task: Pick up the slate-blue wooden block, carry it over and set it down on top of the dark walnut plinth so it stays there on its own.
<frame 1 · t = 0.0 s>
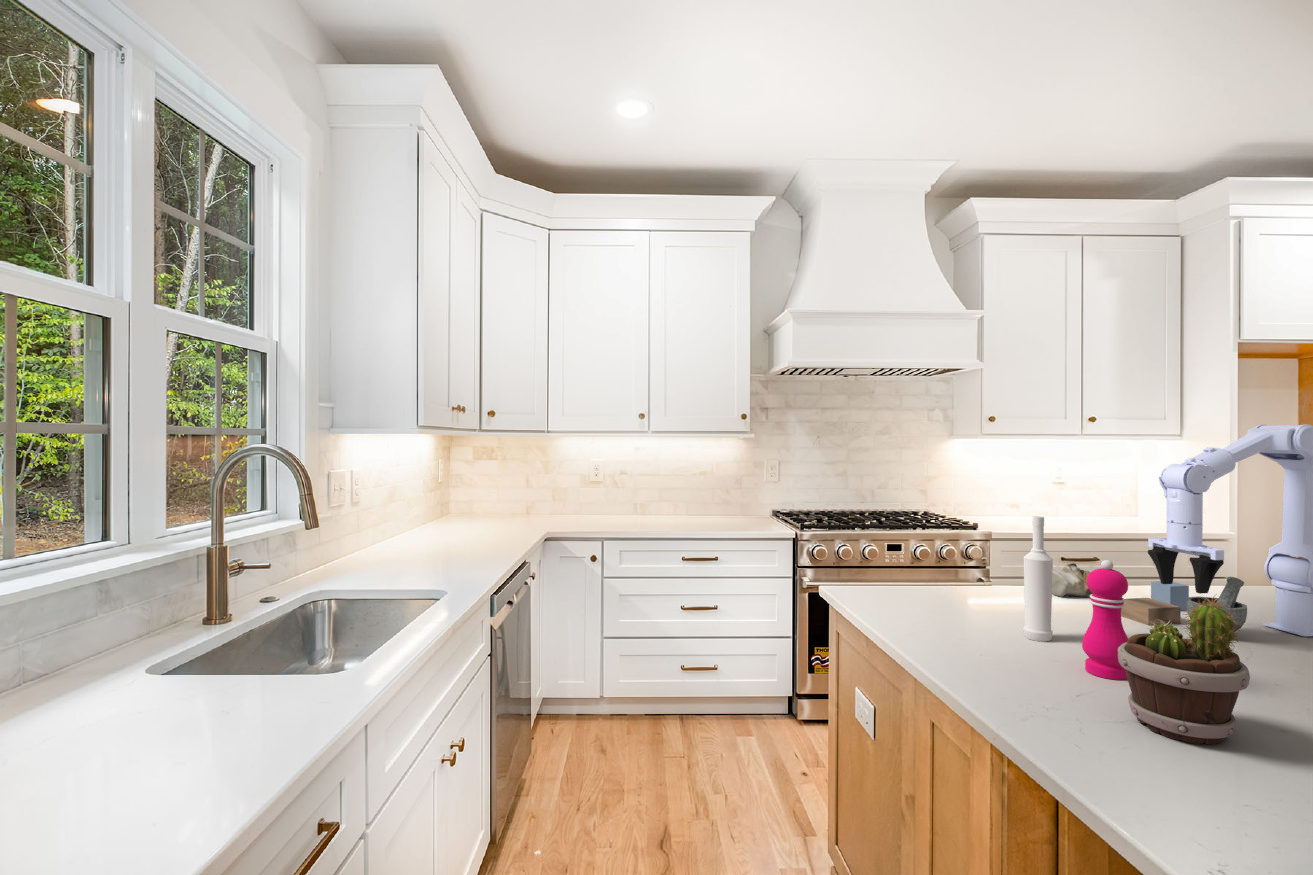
hand: (1183, 588, 131), 10 cm above the countertop, fingers open, 7 cm apart
grey rock: (1074, 596, 165), on the countertop
walnut plinth: (1148, 620, 144), on the countertop
flowerpot: (1180, 730, 91), on the countertop
pepper mill: (1106, 674, 112), on the countertop
bottle: (1037, 638, 131), on the countertop
slate block: (1169, 608, 153), on the countertop
mortar and pestle: (1218, 636, 133), on the countertop
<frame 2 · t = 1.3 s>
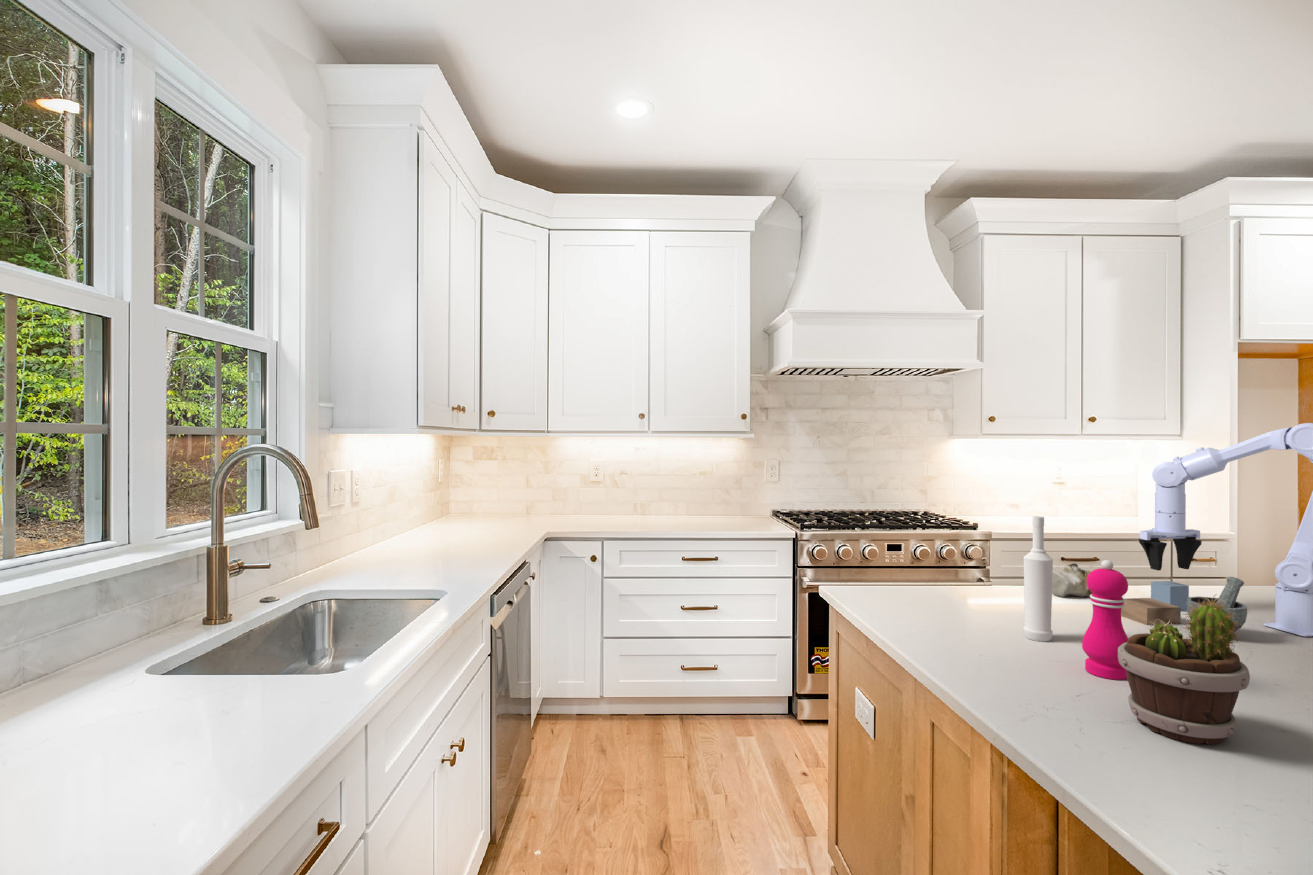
hand: (1169, 569, 153), 9 cm above the countertop, fingers open, 7 cm apart
nothing on the countertop moved.
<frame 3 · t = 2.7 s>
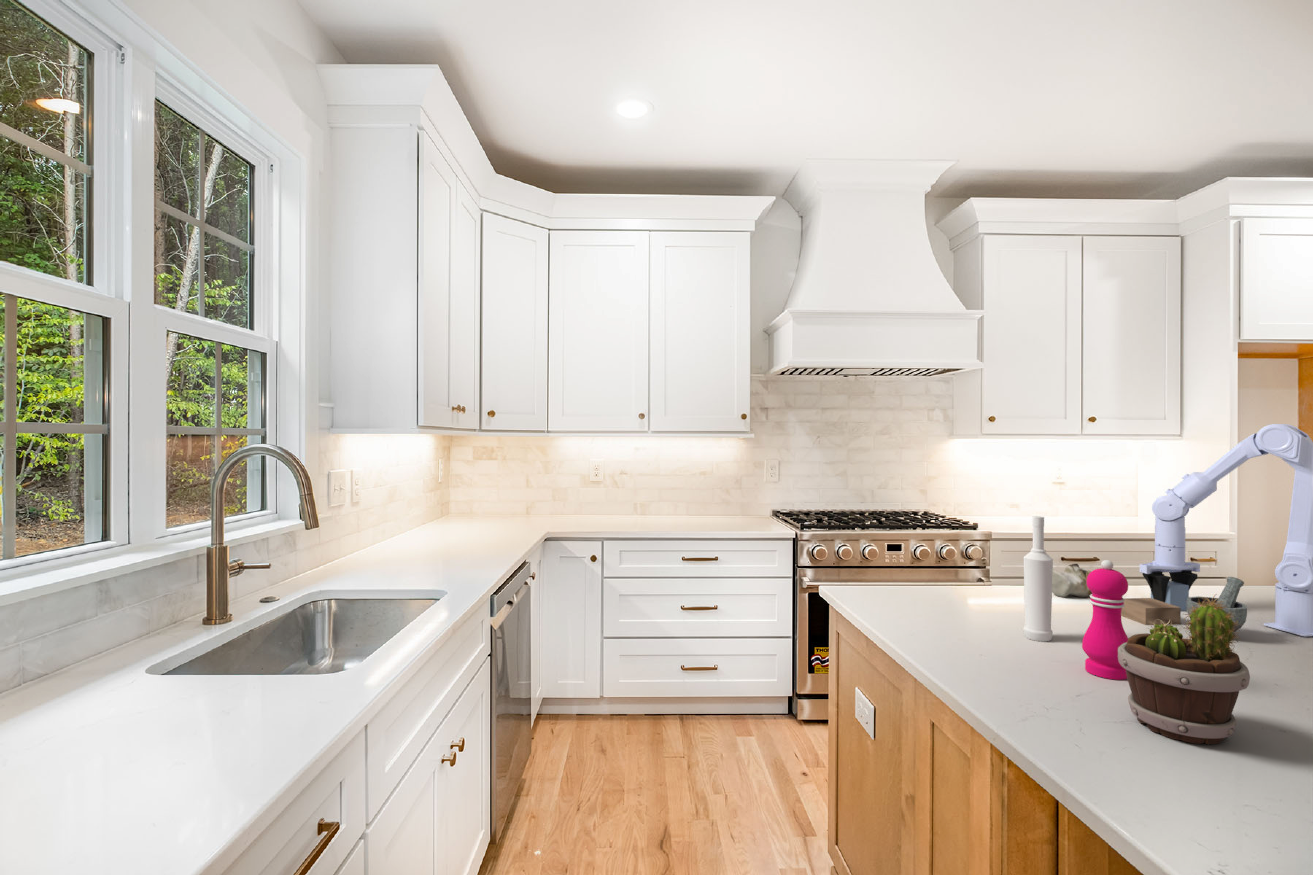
hand: (1169, 602, 153), 1 cm above the countertop, fingers closed on slate block, 5 cm apart
slate block: (1169, 608, 153), on the countertop, touching gripper
everything else where it was.
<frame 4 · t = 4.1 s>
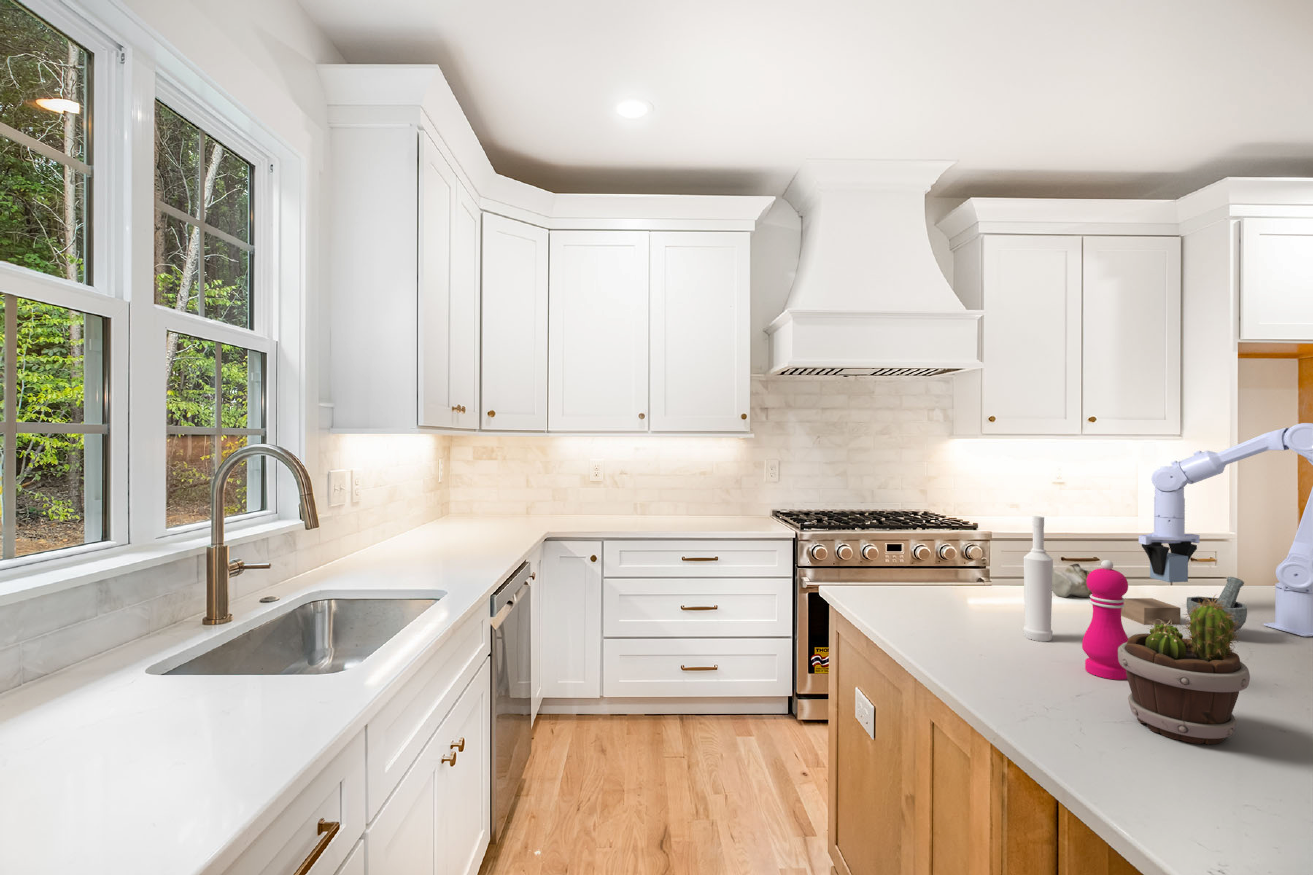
hand: (1168, 573, 152), 8 cm above the countertop, fingers closed on slate block, 5 cm apart
slate block: (1168, 579, 152), point 7 cm above the countertop, touching gripper
everything else where it was.
when the fingers open (7 cm above the countertop, at t = 5.8 s): slate block drops 2 cm, resting on walnut plinth.
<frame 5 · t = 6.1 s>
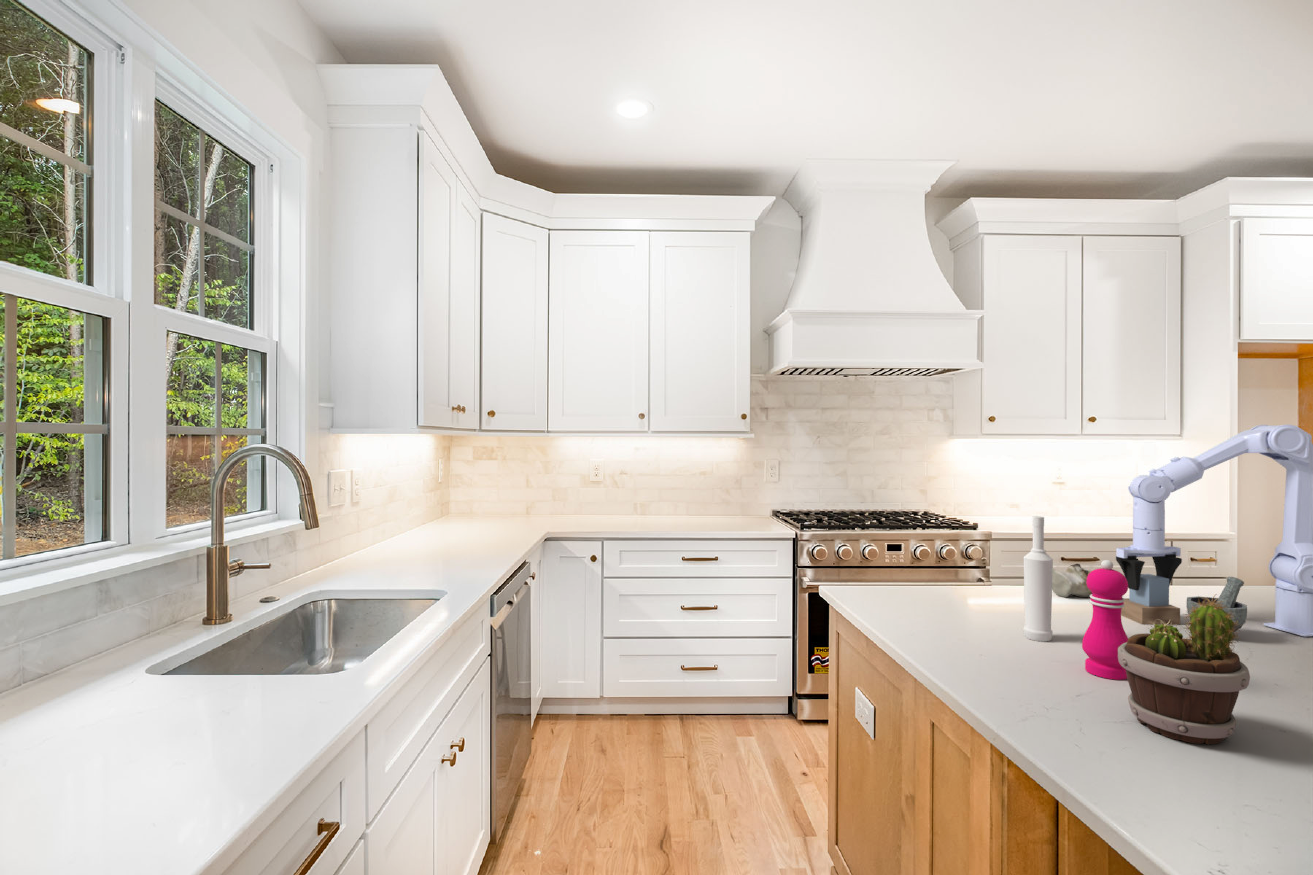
hand: (1148, 588, 144), 7 cm above the countertop, fingers open, 7 cm apart
walnut plinth: (1148, 620, 144), on the countertop, touching slate block
slate block: (1148, 603, 144), point 4 cm above the countertop, touching walnut plinth
everything else where it was.
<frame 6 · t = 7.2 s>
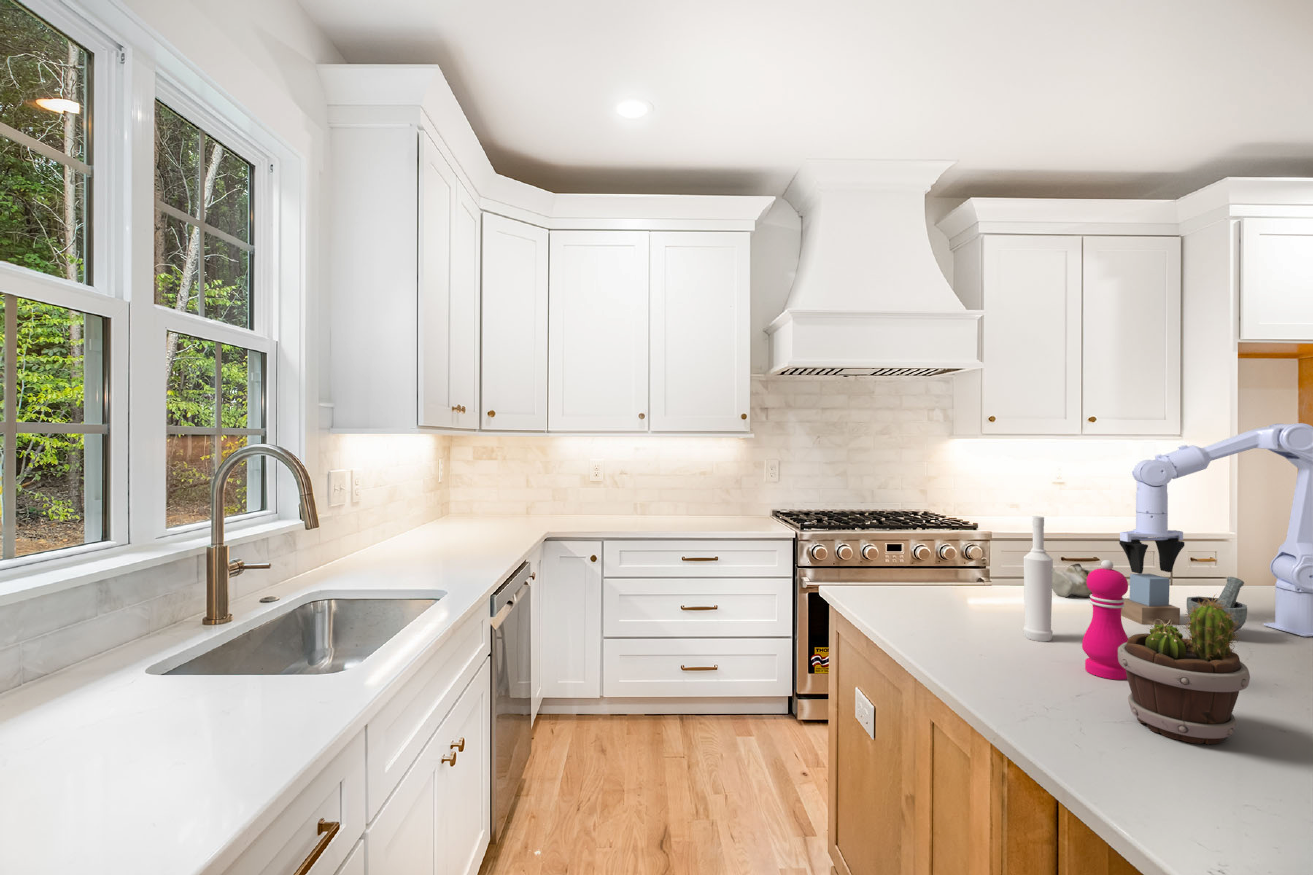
hand: (1151, 572, 145), 10 cm above the countertop, fingers open, 7 cm apart
nothing on the countertop moved.
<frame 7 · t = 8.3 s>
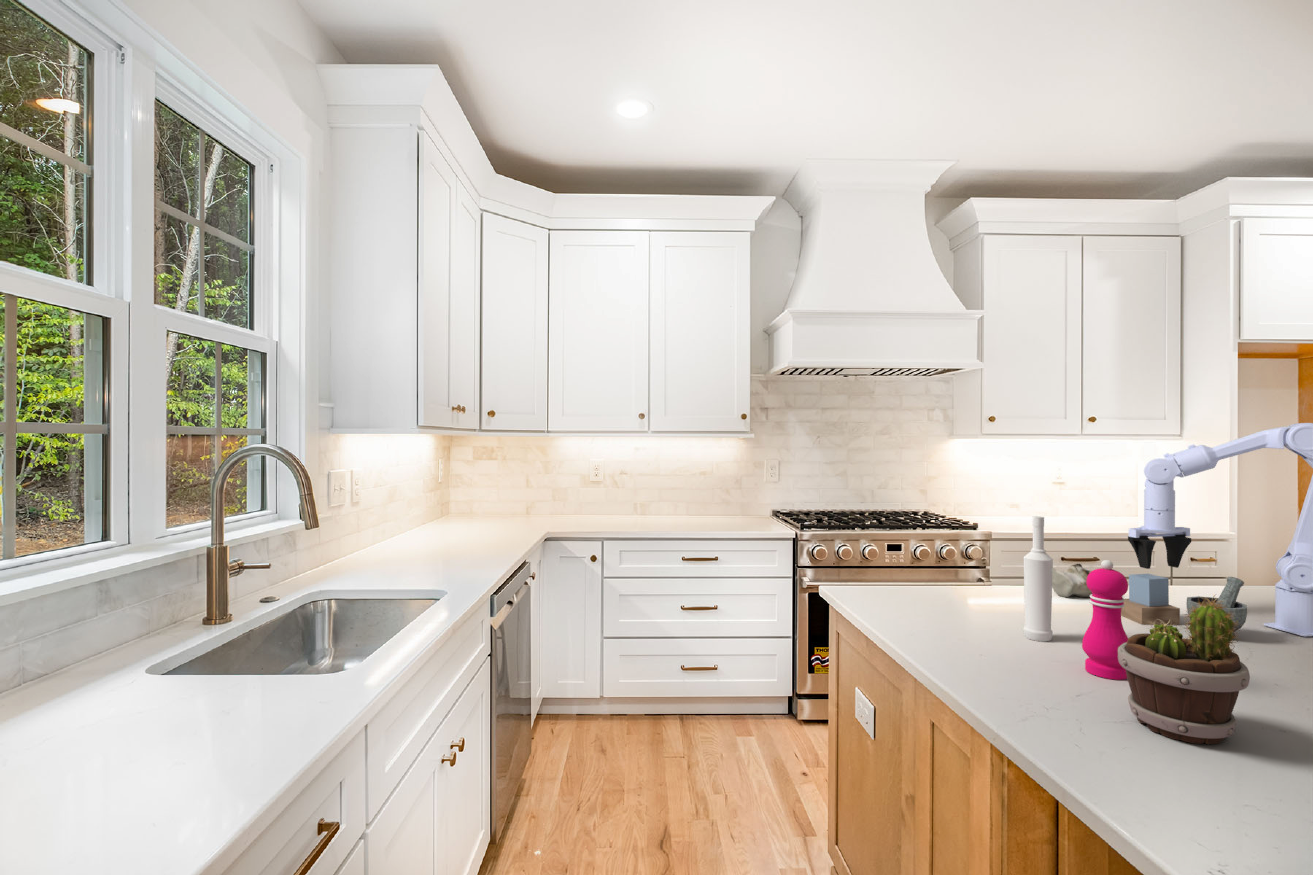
hand: (1159, 567, 150), 10 cm above the countertop, fingers open, 7 cm apart
walnut plinth: (1147, 620, 144), on the countertop
slate block: (1148, 602, 144), point 4 cm above the countertop
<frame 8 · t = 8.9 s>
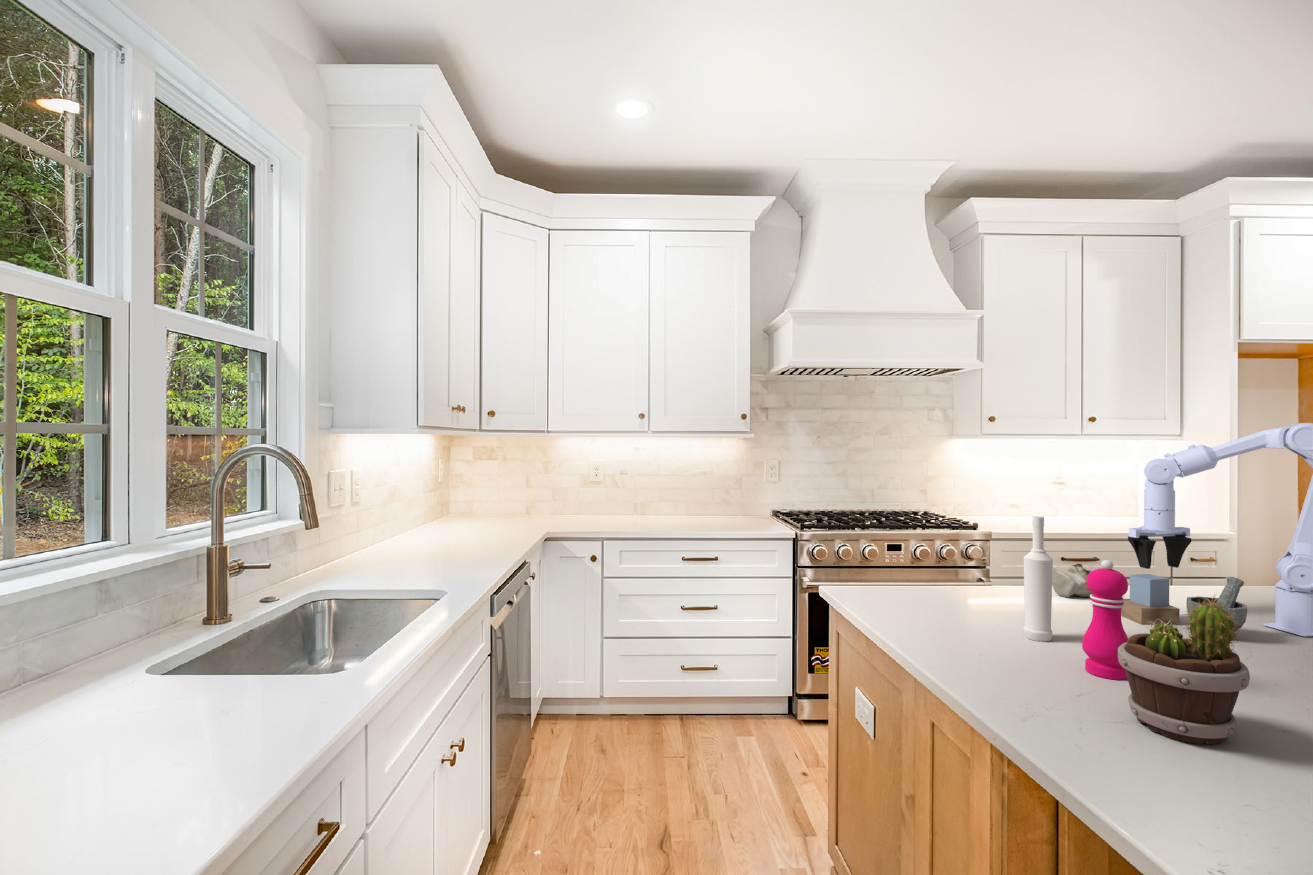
hand: (1159, 567, 150), 10 cm above the countertop, fingers open, 7 cm apart
at the end: slate block 0.4 cm off-centre on the walnut plinth, point 4.0 cm above the walnut plinth's base; the gripper is holding nothing; slate block tilted 0° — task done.
